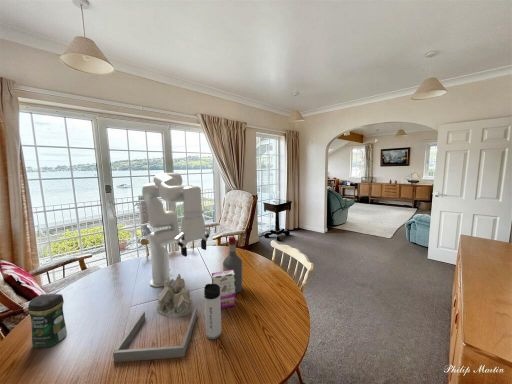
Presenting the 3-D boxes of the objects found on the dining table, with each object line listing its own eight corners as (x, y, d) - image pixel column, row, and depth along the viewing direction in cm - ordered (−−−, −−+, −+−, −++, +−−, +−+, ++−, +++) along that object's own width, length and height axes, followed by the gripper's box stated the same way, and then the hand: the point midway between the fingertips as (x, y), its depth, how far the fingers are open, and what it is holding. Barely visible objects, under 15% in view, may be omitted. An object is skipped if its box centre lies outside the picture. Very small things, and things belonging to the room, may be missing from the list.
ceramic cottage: (157, 302, 104) (156, 274, 102) (191, 296, 110) (191, 270, 108) (154, 325, 90) (153, 293, 88) (193, 316, 96) (193, 287, 94)
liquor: (230, 296, 109) (229, 241, 106) (222, 289, 116) (220, 237, 113) (244, 290, 114) (243, 237, 112) (235, 283, 121) (234, 234, 119)
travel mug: (214, 325, 88) (212, 280, 86) (224, 332, 84) (223, 286, 82) (202, 334, 83) (200, 287, 82) (212, 342, 79) (210, 293, 77)
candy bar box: (234, 300, 106) (233, 269, 104) (236, 306, 101) (235, 274, 99) (212, 303, 103) (211, 272, 101) (213, 310, 98) (212, 277, 96)
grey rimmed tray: (143, 318, 93) (142, 311, 92) (197, 315, 95) (196, 308, 94) (113, 362, 71) (113, 352, 71) (184, 356, 73) (183, 347, 73)
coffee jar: (27, 349, 77) (21, 302, 76) (49, 332, 85) (44, 290, 84) (52, 349, 77) (46, 302, 75) (71, 333, 85) (67, 290, 83)
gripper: (204, 210, 99) (205, 245, 100) (169, 216, 86) (171, 256, 87) (214, 212, 94) (215, 248, 95) (178, 219, 81) (180, 261, 82)
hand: (194, 252), depth 91 cm, fingers open, 9 cm apart
